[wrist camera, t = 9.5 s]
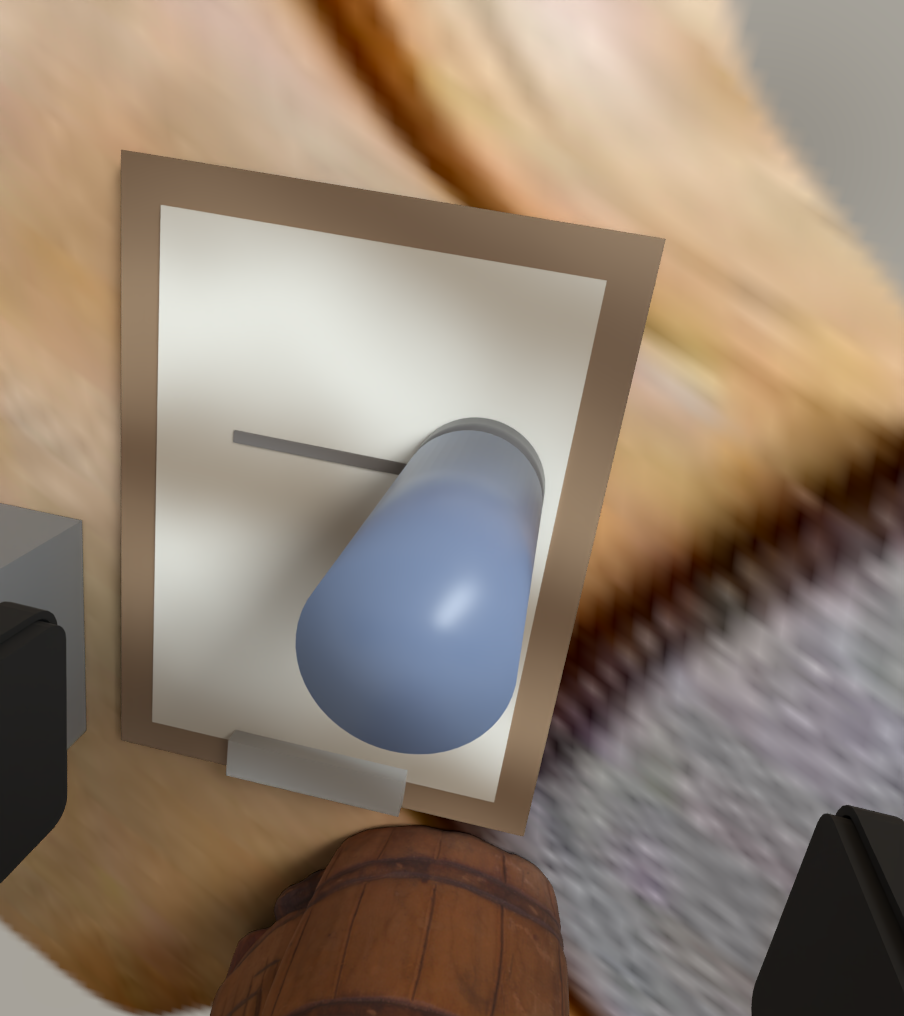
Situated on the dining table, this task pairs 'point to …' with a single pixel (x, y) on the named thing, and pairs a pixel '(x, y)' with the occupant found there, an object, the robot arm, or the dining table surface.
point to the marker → (430, 596)
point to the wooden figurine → (406, 935)
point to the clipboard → (343, 449)
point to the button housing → (49, 587)
